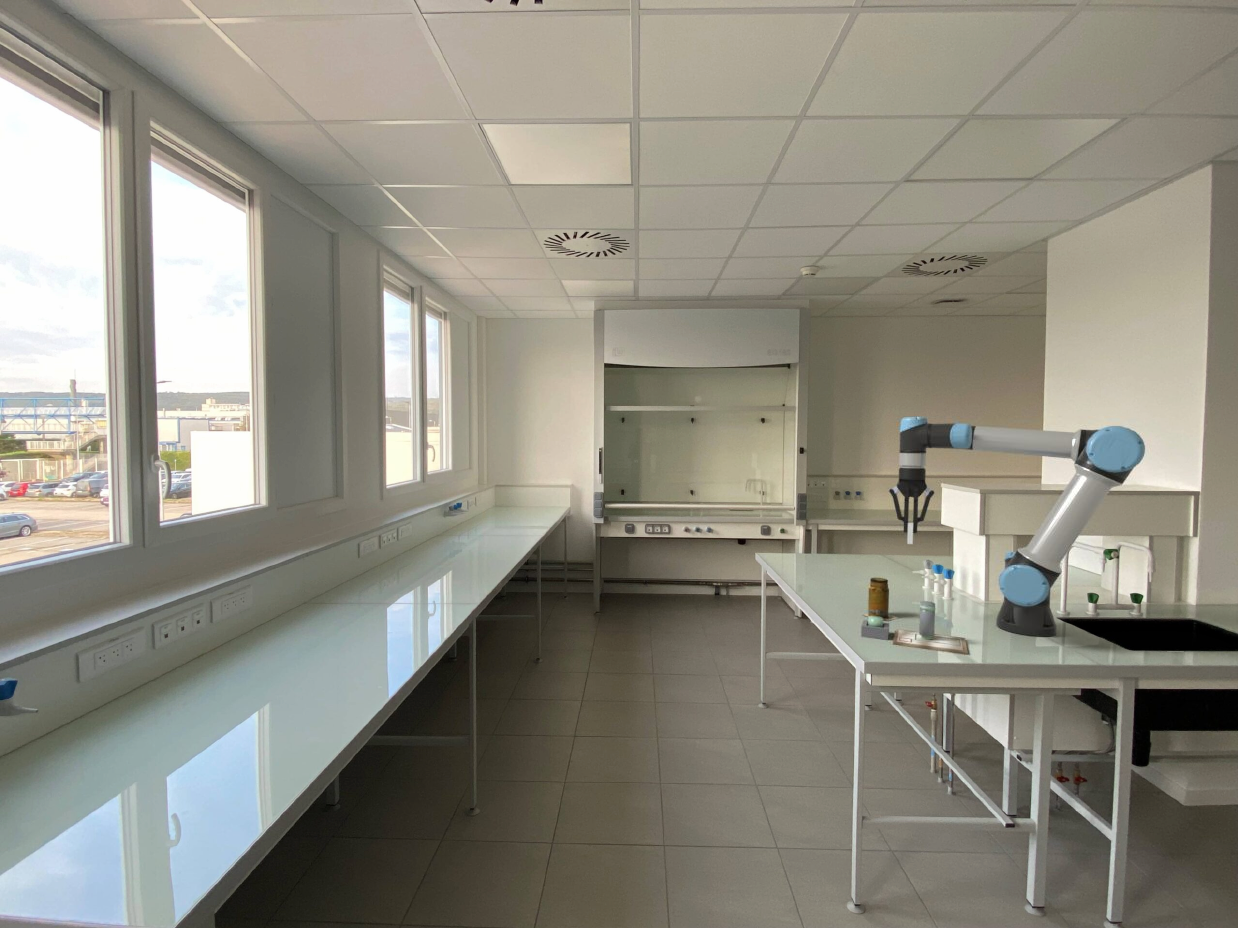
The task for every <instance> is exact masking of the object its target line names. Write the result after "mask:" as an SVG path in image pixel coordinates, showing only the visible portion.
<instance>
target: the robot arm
mask: <svg viewBox="0 0 1238 928" xmlns="http://www.w3.org/2000/svg"><path fill="white" fill-rule="evenodd" d="M899 427H900V428H899V429H900V430H899V452H898V454H899V455H898V466H899V469H898V482H897V483H896V486H893V488H890V489H889V491H888V492H889V493H890V495H891V497H892V500H893V505H894V508H895V513H896V518H897V520H898V521H901V522H903V533H904V534H906V533H907V536H906V537H907V543H906V544H907V545H914V544H913V543H914V534H917V533H918V523H921V522H924V520H925V517H926V515H927V511H928V507H929V505H930V501H931V498H932V497H933V496H934V495H935V491H934V490H933V489H931V488H929V487H928V485H927V483H926V475H927V473H926V471H927V469H926V468H925V467H926V466H927V449H943V450H944V449H951V450H954V449H955V450H968V451H980V452H990V453H991V452H992V453H1002V454H1003V453H1004V454H1014V455H1015V454H1016V455H1025V456H1038V457H1048V458H1057V459H1059V458H1060V459H1071V460H1072V461H1073V462H1074V464H1073V465H1074V468H1075V473H1074V475H1073V477H1072V478H1071V479H1070V481H1069V483H1068V484H1067V485H1066V487H1065V489H1064V490H1063V491H1062V493H1061V495H1060V496H1059V498H1058V499H1057V501H1056V502H1055V504H1054V506H1052V509H1050V511H1049V512H1048V514H1047V515H1046V517H1045V518H1044V520H1043V521H1042V523H1041V525H1040V527H1038V529H1037V531H1036V532H1035V534H1034V535H1033V536H1032V539H1031V540H1030V541H1029V543H1028V544H1027V546H1025V547H1020V548H1017V550H1016V551H1007V552H1006V553H1005V558H1004V569H1003V570H1002V571H1001V573H1000V574H999V576H998V586H999V590H1000V592H1001V594H1002V595H1003V602H1002V604H1001V607H1000V608H999V611H998V613H997V616H996V620H995V621H996V623H995V624H996V627H998V628H999V629H1001V630H1004V631H1007V632H1010V633H1014V634H1019V635H1025V636H1030V637H1031V636H1032V637H1033V636H1034V637H1051V636H1055V635H1057V623H1056V621H1055V618H1054V615H1053V612H1052V609H1051V588H1052V587H1053V586H1054V584H1055V583H1056V582H1057V580H1058V578H1059V577H1060V575H1061V573H1062V572H1063V570H1062V568H1061V562H1062V561H1063V559H1064V558H1065V556H1066V555H1067V553H1068V552H1069V551H1070V549H1071V548H1072V546H1073V545H1074V544H1075V542H1076V540H1077V539H1078V538H1079V536H1080V535H1081V534H1082V532H1083V530H1084V528H1085V527H1086V526H1087V525H1088V523H1089V521H1090V519H1092V517H1093V516H1094V514H1095V512H1096V511H1097V509H1098V508H1099V507H1100V506H1101V504H1102V502H1103V501H1104V499H1105V498H1106V497H1107V495H1108V494H1109V492H1110V490H1111V489H1113V488H1115V487H1119V486H1122V485H1123V484H1124V483H1125V481H1126V480H1127V478H1129V476H1130V475H1131V473H1132V472H1133V470H1134V468H1136V467H1137V466H1138V465H1139V464H1141V462H1142V461H1143V459H1144V457H1145V454H1146V445H1145V441H1144V440H1143V438H1142V437H1141V435H1140V434H1139V433H1137V432H1136V431H1135V430H1132V429H1131V428H1128V427H1124V426H1122V425H1110V426H1106V427H1102V428H1100V429H1078V430H1076V431H1074V432H1070V431H1057V430H1055V431H1054V430H1040V429H1026V428H1025V429H1024V428H1013V427H1011V428H1010V427H996V426H994V427H993V426H980V425H976V426H975V425H971V424H970V423H961V422H954V423H951V422H949V423H947V422H946V423H929V422H928V418H927V417H924V416H917V417H916V416H909V417H908V416H907V417H903V418H902V419H901V420H900V426H899ZM899 492H900V493H901V494H902V496H903V497H904V500H903V501H904V504H903V507H904V509H903V514H902V511H901V506H900V502H899V498H898V495H897V494H898V493H899ZM924 492H925V499H924V503H923V506H922V509H921V512H920V513H921V514H920V516H919V517H918V515H919V514H918V513H919V497H920V496H921V495H922V494H923V493H924ZM910 498H913V513H912V515H913V516H912V517H913V518H912V521H909V511H910V509H909V508H910Z"/></svg>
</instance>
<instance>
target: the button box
mask: <svg viewBox="0 0 1238 928" xmlns="http://www.w3.org/2000/svg"><path fill="white" fill-rule="evenodd" d="M860 626H861V628H860V629H861V630H860V631H861V633H860V637H862V638H863V637H865V638H870V639H877V640H885V641H888V640H889V637H890V622H884V621H883V628H882V627H874V626H868V619H867V620H865V619H863V621H862V624H861V625H860Z"/></svg>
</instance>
